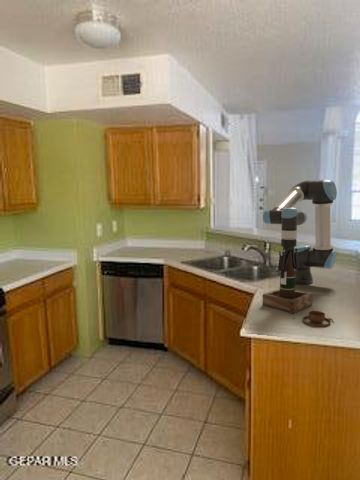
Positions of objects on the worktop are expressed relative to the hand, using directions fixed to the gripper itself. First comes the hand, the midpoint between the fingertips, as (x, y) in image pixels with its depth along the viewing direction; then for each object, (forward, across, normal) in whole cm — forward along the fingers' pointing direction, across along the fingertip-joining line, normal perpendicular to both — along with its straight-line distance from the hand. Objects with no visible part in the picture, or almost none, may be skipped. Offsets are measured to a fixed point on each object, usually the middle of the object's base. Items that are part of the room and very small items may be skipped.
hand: (287, 282), depth 193 cm
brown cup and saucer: (+13, +11, +19) cm, 25 cm away
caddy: (+12, 0, 0) cm, 12 cm away
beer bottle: (+8, 0, 0) cm, 8 cm away
